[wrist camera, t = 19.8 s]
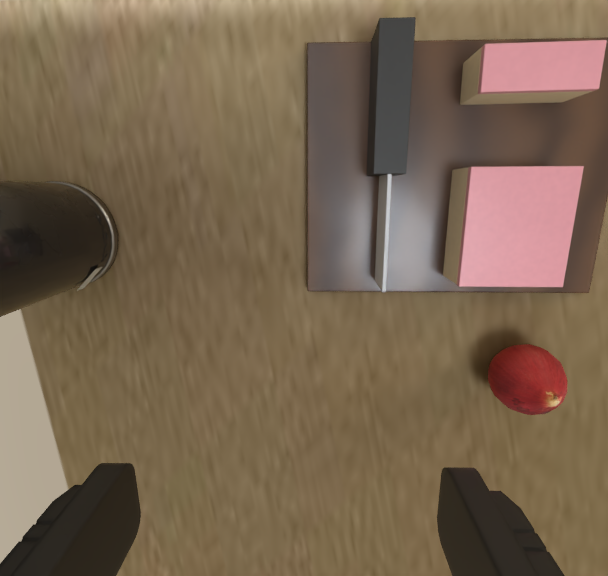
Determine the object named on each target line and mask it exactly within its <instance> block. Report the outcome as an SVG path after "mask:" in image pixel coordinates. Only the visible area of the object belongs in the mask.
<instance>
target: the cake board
mask: <svg viewBox="0 0 608 576" xmlns="http://www.w3.org/2000/svg"><path fill="white" fill-rule="evenodd" d="M589 40H607V42H606V48H605V55H604V61H603V67H602V73H601V79H600V85H599V89H597V90H595V91H592V92H589V93H586V94H584V95H581V96H578V97H575V98H573V99H570V100H567V101H564V102H555V103H517V104H478V105H460V97H461V84H462V72H463V63H464V62H465V61H466V60H468V59H469V58H470V57H471V56H472V55H473V54H474V53H476V52H477V51H478V50H479V49H480V48H481V47H482V46H483V45H485V44H495V43H526V42H558V41H589ZM370 63H371V42H327V43H307V290H308V291H374V292H382V291H381V289H380V288H379V286H378V285H377V283H376V282H375V262H376V239H377V216H378V192H379V176H367V150H368V121H369V92H370ZM500 166H584V168H583V174H582V180H581V186H580V191H579V197H578V203H577V209H576V214H575V220H574V226H573V232H572V237H571V243H570V249H569V255H568V260H567V266H566V272H565V278H564V283H563V287H459V286H458V285H456V284H455V283H453V282H452V281H450V280H449V279H447V278H446V277H444V276H443V269H444V258H445V247H446V236H447V225H448V214H449V203H450V192H451V181H452V171H453V170H454V169H461V168H467V167H500ZM607 197H608V38H565V39H505V40H446V41H414V52H413V68H412V85H411V102H410V118H409V135H408V152H407V169H406V174H402V175H397V176H392V180H391V200H390V220H389V240H388V259H387V279H386V292H553V293H589V290H590V285H591V280H592V275H593V269H594V264H595V259H596V254H597V249H598V243H599V238H600V233H601V228H602V223H603V217H604V212H605V207H606V202H607Z"/></svg>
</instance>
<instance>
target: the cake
mask: <svg viewBox="0 0 608 576" xmlns="http://www.w3.org/2000/svg"><path fill="white" fill-rule="evenodd" d="M583 168H584V166H500V167H467V168H461V169H454V170H453V171H452V181H451V192H450V203H449V214H448V225H447V236H446V247H445V258H444V269H443V276H444V277H446V278H447V279H449V280H450V281H452V282H453V283H455V284H456V285H458V286H459V287H563V283H564V278H565V272H566V266H567V260H568V255H569V249H570V243H571V237H572V232H573V226H574V220H575V214H576V209H577V203H578V197H579V191H580V186H581V180H582V174H583Z"/></svg>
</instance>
